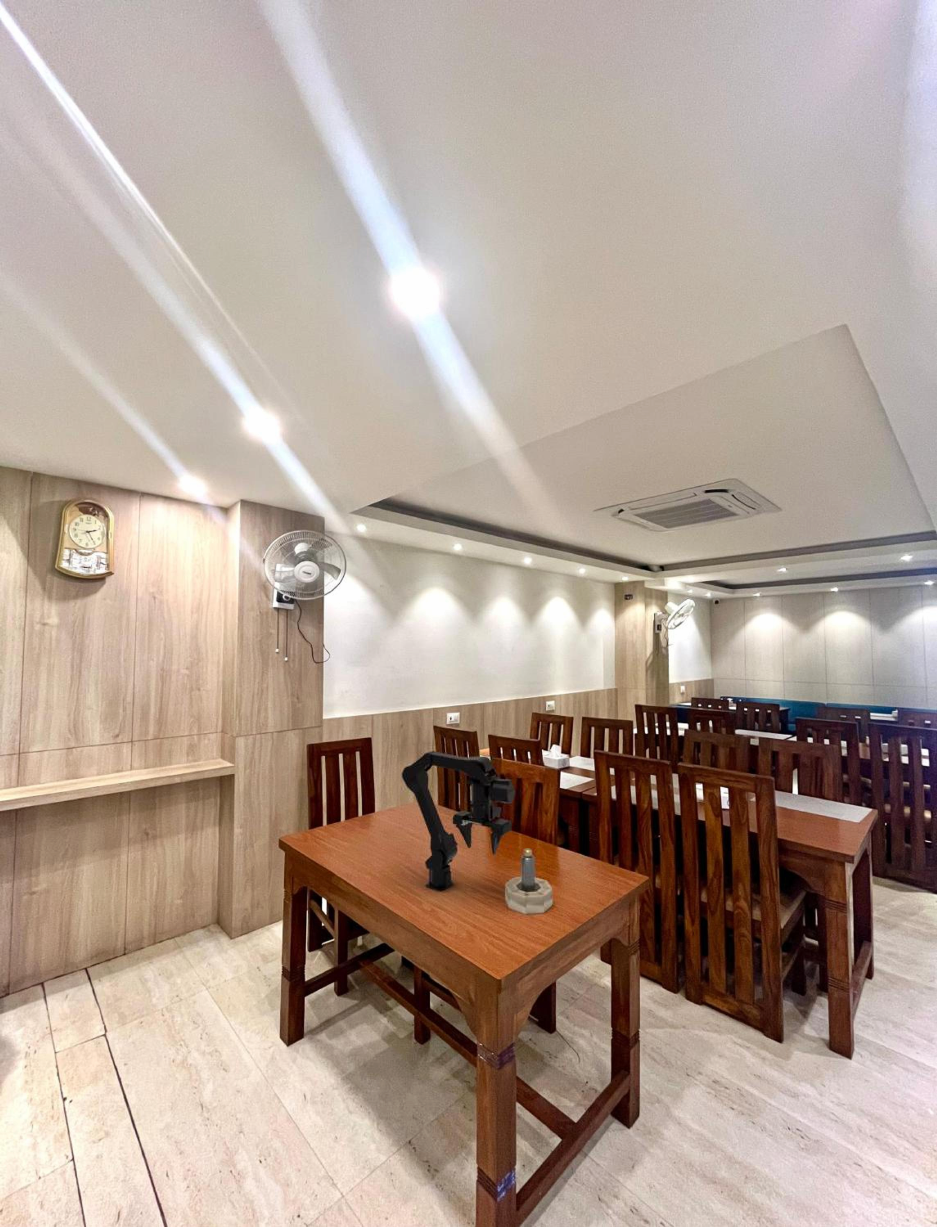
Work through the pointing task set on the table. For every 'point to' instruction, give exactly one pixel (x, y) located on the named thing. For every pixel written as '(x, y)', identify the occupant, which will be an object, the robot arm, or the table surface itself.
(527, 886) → the bottle
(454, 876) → the table surface
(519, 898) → the cream octagonal ring
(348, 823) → the table surface
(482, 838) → the table surface
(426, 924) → the table surface
